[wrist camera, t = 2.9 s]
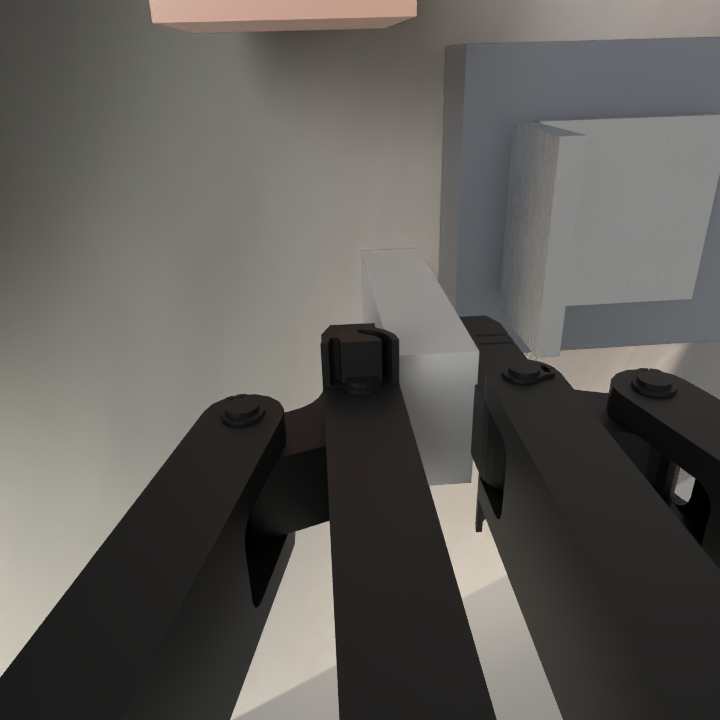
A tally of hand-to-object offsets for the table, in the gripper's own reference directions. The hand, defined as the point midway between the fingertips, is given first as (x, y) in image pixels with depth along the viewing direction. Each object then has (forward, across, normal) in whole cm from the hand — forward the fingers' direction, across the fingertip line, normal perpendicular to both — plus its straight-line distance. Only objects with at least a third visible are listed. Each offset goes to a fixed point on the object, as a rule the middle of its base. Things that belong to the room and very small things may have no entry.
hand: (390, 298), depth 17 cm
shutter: (+8, +9, 0) cm, 12 cm away
